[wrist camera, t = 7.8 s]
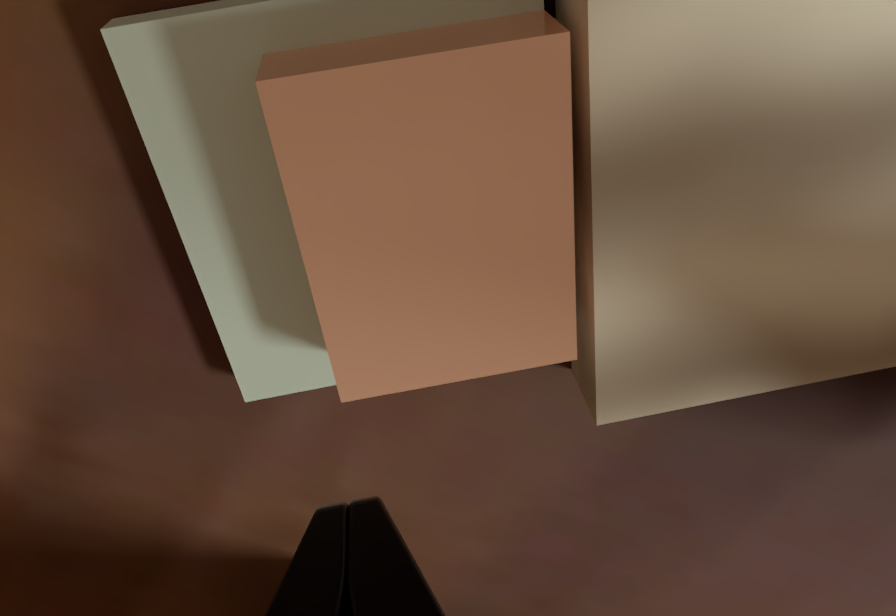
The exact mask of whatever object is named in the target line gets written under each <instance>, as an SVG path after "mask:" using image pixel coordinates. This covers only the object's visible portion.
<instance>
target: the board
mask: <svg viewBox="0 0 896 616" xmlns="http://www.w3.org/2000/svg"><path fill="white" fill-rule="evenodd" d="M555 9H556V20H557V21H558V22H559V23H561V24H562V25H563V26H564V27H565V28H567V29H568V30H569V31H570V50H571V97H572V144H573V190H574V237H575V284H576V331H577V360H573V361H571V362H572V372H573V374H574V376H575V379H576V381H577V383H578V385H579V387H580V390H581V392H582V394H583V396H584V398H585V401H586V403H587V405H588V407H589V410H590V412H591V414H592V416H593V418H594V421H595V423H596V425H602V424H607V423H612V422H617V421H622V420H627V419H632V418H637V417H642V416H647V415H653V414H658V413H663V412H668V411H673V410H678V409H683V408H688V407H693V406H698V405H703V404H708V403H713V402H718V401H723V400H728V399H734V398H739V397H744V396H749V395H754V394H759V393H764V392H769V391H774V390H779V389H784V388H789V387H794V386H799V385H804V384H810V383H815V382H820V381H825V380H830V379H835V378H840V377H845V376H850V375H855V374H860V373H865V372H870V371H875V370H880V369H885V368H891V367H896V0H555Z"/></svg>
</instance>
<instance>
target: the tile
mask: <svg viewBox="0 0 896 616" xmlns="http://www.w3.org/2000/svg"><path fill="white" fill-rule="evenodd" d="M255 84H256V87H257V91H258V95H259V99H260V102H261V106H262V110H263V113H264V117H265V121H266V125H267V128H268V132H269V136H270V139H271V143H272V147H273V151H274V154H275V158H276V162H277V165H278V169H279V173H280V177H281V180H282V184H283V188H284V192H285V195H286V199H287V203H288V206H289V210H290V214H291V218H292V221H293V225H294V229H295V232H296V236H297V240H298V244H299V247H300V251H301V255H302V258H303V262H304V266H305V270H306V273H307V277H308V281H309V284H310V288H311V292H312V296H313V299H314V303H315V307H316V311H317V314H318V318H319V322H320V325H321V329H322V333H323V337H324V340H325V344H326V348H327V351H328V355H329V359H330V363H331V366H332V370H333V374H334V377H335V381H336V385H337V389H338V392H339V396H340V400H341V403H342V402H347V401H353V400H358V399H364V398H369V397H375V396H380V395H386V394H391V393H397V392H402V391H408V390H413V389H419V388H424V387H430V386H435V385H441V384H446V383H452V382H457V381H463V380H468V379H474V378H479V377H485V376H490V375H496V374H501V373H507V372H512V371H518V370H523V369H529V368H534V367H540V366H545V365H551V364H556V363H562V362H567V361H573V360H577V331H576V284H575V237H574V190H573V144H572V97H571V50H570V31H569V30H568V29H567V28H565V27H564V26H563V25H562V24H561V23H559V22H558V21H557V20H556V19H555V18H553V17H552V16H551V15H550V14H549V13H547V12H546V11H545V10H539V11H533V12H526V13H520V14H514V15H507V16H501V17H495V18H488V19H482V20H476V21H469V22H463V23H457V24H450V25H444V26H438V27H431V28H425V29H419V30H412V31H406V32H399V33H393V34H387V35H380V36H374V37H368V38H361V39H355V40H349V41H342V42H336V43H330V44H323V45H317V46H311V47H304V48H298V49H292V50H285V51H279V52H273V53H266V54H263V56H262V59H261V63H260V66H259V69H258V73H257V76H256V80H255Z"/></svg>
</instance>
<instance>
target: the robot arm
mask: <svg viewBox="0 0 896 616" xmlns="http://www.w3.org/2000/svg"><path fill="white" fill-rule="evenodd" d="M265 616H445V614H444V612H443V610H442V608H441V607H440V605H439V603H438V601H437V599H436V598H435V596H434V594H433V592H432V590H431V589H430V587H429V585H428V583H427V581H426V579H425V578H424V576H423V574H422V572H421V570H420V569H419V567H418V565H417V563H416V561H415V560H414V558H413V556H412V554H411V552H410V550H409V549H408V547H407V545H406V543H405V541H404V540H403V538H402V536H401V534H400V532H399V531H398V529H397V527H396V525H395V523H394V521H393V520H392V518H391V516H390V514H389V512H388V511H387V509H386V507H385V505H384V503H383V502H382V500H381V498H379V497H378V496H372V497H367V498H362V499H357V500H353V501H352V502H351V503H350V505H348V504H347V503H343V502H342V503H337V504H332V505H327V506H323V507H320V508H318V509H317V510H316V511H315V513H314V515H313V517H312V519H311V521H310V523H309V525H308V528H307V530H306V532H305V534H304V536H303V538H302V540H301V542H300V544H299V546H298V548H297V550H296V552H295V554H294V556H293V559H292V561H291V563H290V565H289V567H288V569H287V571H286V573H285V575H284V577H283V579H282V581H281V583H280V585H279V588H278V590H277V592H276V594H275V596H274V598H273V600H272V602H271V604H270V606H269V608H268V610H267V612H266V614H265Z"/></svg>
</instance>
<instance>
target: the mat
mask: <svg viewBox="0 0 896 616" xmlns="http://www.w3.org/2000/svg"><path fill="white" fill-rule="evenodd" d="M539 10H544V0H219V1H213V2H207V3H202V4H196V5H190V6H184V7H178V8H172V9H166V10H160V11H154V12H148V13H143V14H137V15H131V16H125V17H119V18H113V19H111V20H110V21H109V22H108V23H107V24H106V25H105V26H103V27H102V28H101V29H100V31H101V33H102V36H103V38H104V41H105V44H106V46H107V49H108V51H109V54H110V56H111V59H112V62H113V64H114V67H115V69H116V72H117V74H118V77H119V79H120V82H121V85H122V87H123V90H124V92H125V95H126V97H127V100H128V103H129V105H130V108H131V110H132V113H133V115H134V118H135V121H136V123H137V126H138V128H139V131H140V133H141V136H142V139H143V141H144V144H145V146H146V149H147V151H148V154H149V156H150V159H151V162H152V164H153V167H154V169H155V172H156V174H157V177H158V180H159V182H160V185H161V187H162V190H163V192H164V195H165V198H166V200H167V203H168V205H169V208H170V210H171V213H172V216H173V218H174V221H175V223H176V226H177V228H178V231H179V233H180V236H181V239H182V241H183V244H184V246H185V249H186V251H187V254H188V257H189V259H190V262H191V264H192V267H193V269H194V272H195V275H196V277H197V280H198V282H199V285H200V287H201V290H202V292H203V295H204V298H205V300H206V303H207V305H208V308H209V310H210V313H211V316H212V318H213V321H214V323H215V326H216V328H217V331H218V334H219V336H220V339H221V341H222V344H223V346H224V349H225V352H226V354H227V357H228V359H229V362H230V364H231V367H232V369H233V372H234V375H235V377H236V380H237V382H238V385H239V387H240V390H241V393H242V395H243V398H244V400H245V402H249V401H254V400H260V399H265V398H270V397H275V396H280V395H286V394H291V393H296V392H301V391H306V390H312V389H317V388H322V387H327V386H332V385H336V381H335V377H334V374H333V370H332V366H331V363H330V359H329V355H328V351H327V348H326V344H325V340H324V337H323V333H322V329H321V325H320V322H319V318H318V314H317V311H316V307H315V303H314V299H313V296H312V292H311V288H310V284H309V281H308V277H307V273H306V270H305V266H304V262H303V258H302V255H301V251H300V247H299V244H298V240H297V236H296V232H295V229H294V225H293V221H292V218H291V214H290V210H289V206H288V203H287V199H286V195H285V192H284V188H283V184H282V180H281V177H280V173H279V169H278V165H277V162H276V158H275V154H274V151H273V147H272V143H271V139H270V136H269V132H268V128H267V125H266V121H265V117H264V113H263V110H262V106H261V102H260V99H259V95H258V91H257V87H256V84H255V80H256V76H257V73H258V69H259V66H260V63H261V59H262V56H263V54H266V53H273V52H279V51H285V50H292V49H298V48H304V47H311V46H317V45H323V44H330V43H336V42H342V41H349V40H355V39H361V38H368V37H374V36H380V35H387V34H393V33H399V32H406V31H412V30H419V29H425V28H431V27H438V26H444V25H450V24H457V23H463V22H469V21H476V20H482V19H488V18H495V17H501V16H507V15H514V14H520V13H526V12H533V11H539Z"/></svg>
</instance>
